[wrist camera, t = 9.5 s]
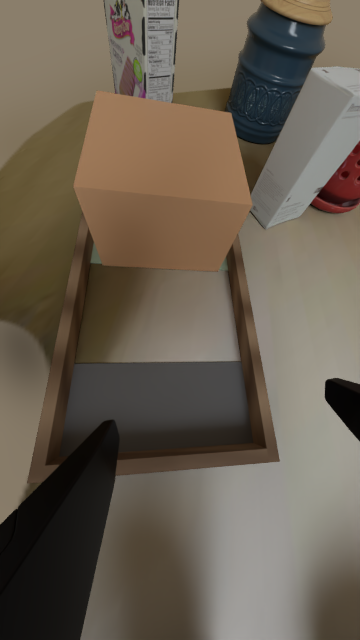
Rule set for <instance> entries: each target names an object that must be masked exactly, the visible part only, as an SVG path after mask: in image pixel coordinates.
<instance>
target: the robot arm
mask: <svg viewBox="0 0 360 640" xmlns="http://www.w3.org/2000/svg"><path fill="white" fill-rule="evenodd" d="M325 399H326V401H327V403H328V404H329V405H330V406H331V408H332V409H333V410H334V411H335V412H336V414H337V415H338V416H339V417H340V419H341V420H342V421H343V422H344V423H345V425H346V426H347V427H348V428H349V430H350V431H351V432H352V433H353V434H354V436H355V437H356V438H357V439H358V440H359V441H360V384H357V383H353V382H350V381H346V380H343V379H339V378H333V379H328V380H326V382H325ZM119 442H120V437H119V432H118V429H117V425H116V422H115V420H113V419H111V420H105V421H103V422H102V423H101V424H100V425H99V426H98V427H97V428H96V429H95V430H94V431H93V432H92V433H91V434H90V435H89V436H88V437H87V438H86V439H85V440H84V441H83V442H82V443H81V444H80V445H79V446H78V447H77V448H76V449H75V450H74V451H73V452H72V453H71V454H70V455H69V456H68V457H67V458H66V459H65V460H64V461H63V462H62V463H61V464H60V465H59V466H58V467H57V468H56V469H55V470H54V471H53V472H52V473H51V474H50V475H49V476H48V477H47V478H46V479H45V480H44V481H43V482H42V483H41V484H40V485H39V486H38V487H37V488H36V489H35V490H34V491H33V492H32V493H31V494H30V495H29V496H28V497H27V498H26V499H25V500H24V501H23V502H22V503H21V504H20V505H19V507H18V509H16V510H14V511H13V512H12V513H11V514H10V515H9V516H8V517H7V519H5V521H4V522H3V523H2V524H0V640H80V637H81V633H82V628H83V624H84V619H85V615H86V610H87V606H88V601H89V597H90V592H91V588H92V583H93V578H94V574H95V569H96V565H97V560H98V556H99V551H100V547H101V542H102V538H103V533H104V529H105V524H106V520H107V515H108V511H109V506H110V502H111V497H112V492H113V488H114V482H115V475H116V467H117V459H118V450H119Z"/></svg>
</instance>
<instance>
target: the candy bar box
mask: <svg viewBox="0 0 360 640" xmlns="http://www.w3.org/2000/svg"><path fill="white" fill-rule="evenodd" d="M178 7H179V0H104V8H105V16H106V23H107V31H108V39H109V45H110V54H111V62H112V69H113V78H114V86H115V94H121V95H127V96H133V97H139V98H145V99H151V100H157V101H163V102H169V103H172V100H173V82H174V69H175V53H176V39H177V24H178Z"/></svg>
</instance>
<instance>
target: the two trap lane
mask: <svg viewBox="0 0 360 640" xmlns="http://www.w3.org/2000/svg"><path fill="white" fill-rule="evenodd" d="M91 263H97V264H102V262H101V259H100V257H99V254H98V251H97V249H96V246H95V243H94V241H93V238H92V235H91V233H90V230H89V227H88V225H87V222H86V219H85V216H84V214H83V211H82V216H81V221H80V226H79V231H78V236H77V241H76V246H75V250H74V255H73V260H72V265H71V270H70V275H69V280H68V285H67V290H66V295H65V300H64V305H63V309H62V314H61V319H60V324H59V329H58V334H57V339H56V344H55V349H54V354H53V359H52V364H51V368H50V373H49V378H48V383H47V388H46V394H45V398H44V403H43V409H42V413H41V418H40V423H39V428H38V432H37V437H36V443H35V447H34V452H33V457H32V462H31V467H30V472H29V477H28V482H27V483H37V482H43V481H44V480H45V479H46V478H47V477H48V476H49V475H50V474H51V473H52V472H53V471H54V470H55V469H56V468H57V467H58V466H59V465H60V464H61V463H62V462H63V461H64V460H65V459H66V458H67V457H68V456H69V455H70V454H71V453H72V452H73V451H74V450H75V449H76V448H77V447H78V446H79V445H80V444H81V443H82V442H83V441H84V440H85V439H86V438H87V437H88V436H89V435H90V434H91V433H92V432H93V431H94V430H95V429H96V428H97V427H98V426H99V425H100V424H101V423H102V422H103V421H105V420H111V419H113V420H115V422H116V425H117V429H118V432H119V437H120V442H119V450H118V459H117V467H116V475H115V476H118V475H129V474H141V473H152V472H164V471H176V470H187V469H199V468H210V467H222V466H233V465H245V464H256V463H268V462H280V460H279V454H278V449H277V444H276V438H275V433H274V427H273V422H272V416H271V411H270V405H269V400H268V394H267V389H266V383H265V378H264V373H263V367H262V362H261V356H260V351H259V345H258V340H257V334H256V329H255V323H254V318H253V313H252V307H251V302H250V296H249V291H248V285H247V280H246V274H245V269H244V263H243V258H242V252H241V247H240V242H239V236H238V234H237V236H236V238H235V240H234V242H233V244H232V246H231V248H230V249H229V251H228V253H227V255H226V257H225V259H224V261H223V263H222V265H221V267H220V269H219V270H227V271H228V273H229V280H230V287H231V294H232V301H233V307H234V314H235V321H236V328H237V335H238V342H239V349H240V355H241V362H181V363H97V364H74V363H75V357H76V350H77V344H78V338H79V332H80V326H81V319H82V313H83V307H84V301H85V295H86V288H87V282H88V276H89V270H90V264H91Z"/></svg>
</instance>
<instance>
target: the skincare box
mask: <svg viewBox="0 0 360 640" xmlns="http://www.w3.org/2000/svg"><path fill="white" fill-rule="evenodd" d="M359 141H360V69H356V68H343V67H336V66H335V67H323V68H312V69H311V70H310V72H309V74H308V76H307V78H306V80H305V83H304V85H303V87H302V89H301V91H300V93H299V95H298V97H297V99H296V101H295V103H294V105H293V108H292V110H291V112H290V114H289V116H288V118H287V120H286V122H285V124H284V126H283V128H282V130H281V132H280V134H279V137H278V139H277V141H276V143H275V145H274V147H273V149H272V151H271V153H270V155H269V157H268V159H267V161H266V164H265V166H264V168H263V170H262V172H261V174H260V176H259V178H258V180H257V182H256V184H255V186H254V188H253V190H252V193H251V200H252V204H253V206H252V207H251V209H250V211H251V212H252V213H253V215H254V216H255V217H256V219H257V220H258V221H259V222H260V224H261V225H262V226H263V227H264V228H265V229H267V228H269V227H271V226H273V225H276V224H279V223H281V222H284V221H287V220H290V219H294V218H298V217H299V216H301V214H302V213H303V212H304V211H305V209H306V208H307V207H308V206H309V204H310V203H311V202H312V201H313V199H314V198H315V197H316V196H317V194H318V193H319V192H320V191H321V189H322V188H323V187H324V185H325V184H326V183H327V182H328V180H329V179H330V178H331V177H332V175H333V174H334V173H335V172H336V170H337V169H338V168H339V167H340V165H341V164H342V163H343V162H344V160H345V159H346V158H347V156H348V155H349V154H350V153H351V151H352V150H353V149H354V147H355V146H356V145H357V144H358V142H359Z"/></svg>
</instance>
